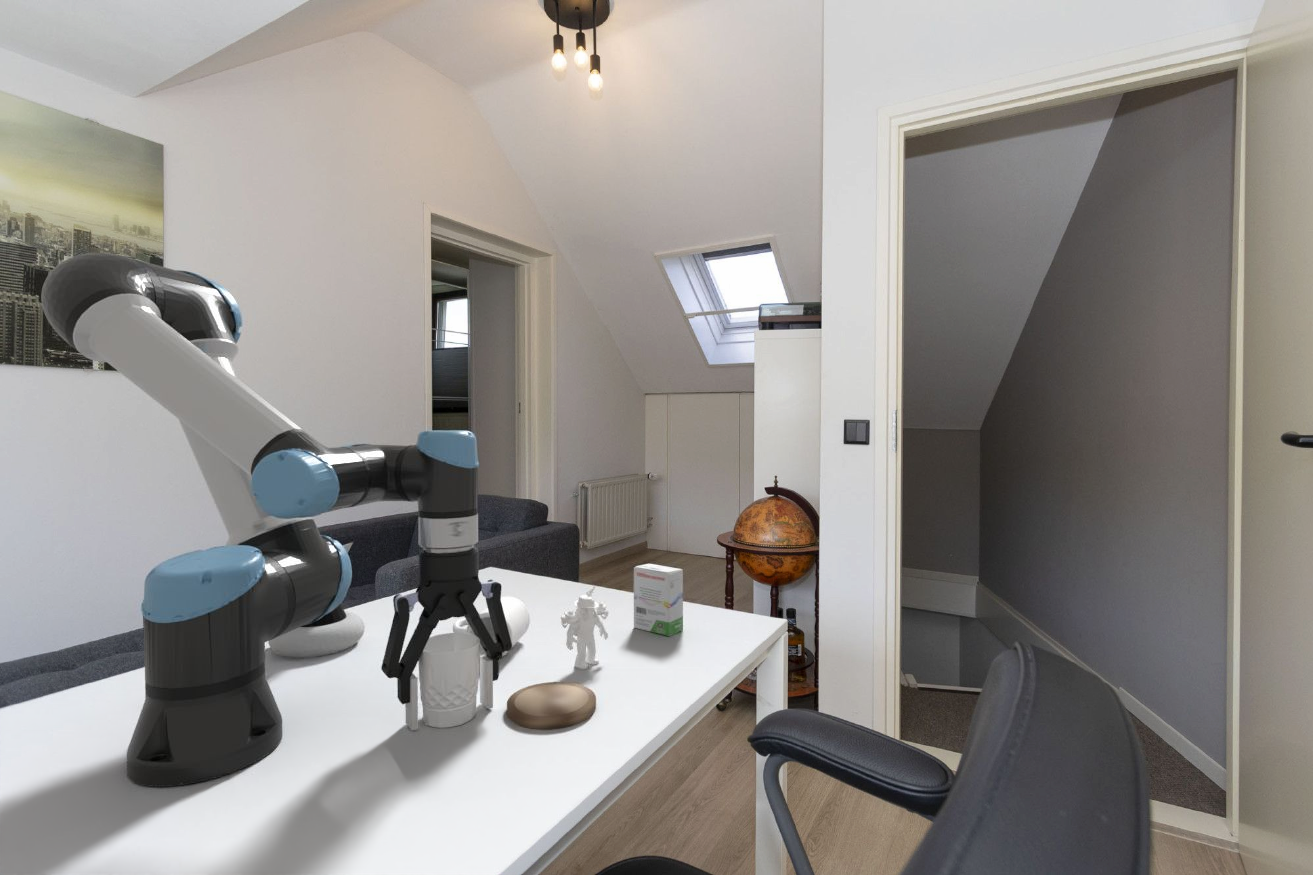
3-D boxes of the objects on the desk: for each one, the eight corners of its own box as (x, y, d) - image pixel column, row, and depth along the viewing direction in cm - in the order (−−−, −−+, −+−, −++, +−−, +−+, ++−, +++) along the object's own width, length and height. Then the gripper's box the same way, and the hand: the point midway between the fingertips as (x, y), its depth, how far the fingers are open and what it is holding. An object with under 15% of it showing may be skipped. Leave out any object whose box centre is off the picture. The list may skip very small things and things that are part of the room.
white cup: (491, 716, 86) (491, 641, 86) (436, 737, 80) (436, 657, 80) (460, 698, 92) (460, 628, 91) (407, 717, 86) (406, 642, 86)
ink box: (684, 630, 122) (684, 567, 121) (668, 637, 118) (669, 572, 117) (648, 621, 127) (648, 561, 126) (632, 628, 123) (632, 566, 122)
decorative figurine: (370, 629, 122) (369, 523, 121) (357, 657, 107) (356, 537, 107) (282, 636, 117) (280, 526, 117) (256, 666, 103) (254, 541, 103)
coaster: (531, 738, 80) (531, 728, 80) (492, 704, 90) (492, 695, 90) (612, 712, 87) (612, 703, 87) (568, 683, 97) (568, 674, 97)
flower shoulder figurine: (598, 653, 109) (598, 583, 109) (614, 659, 106) (614, 587, 106) (556, 668, 103) (556, 593, 102) (572, 675, 100) (572, 598, 100)
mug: (530, 641, 116) (530, 596, 115) (512, 661, 106) (512, 613, 105) (465, 638, 117) (465, 594, 117) (441, 658, 107) (441, 610, 107)
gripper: (367, 563, 76) (369, 752, 76) (537, 541, 89) (538, 702, 90) (352, 552, 82) (354, 728, 82) (514, 534, 95) (515, 685, 96)
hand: (450, 714), depth 86 cm, fingers open, 9 cm apart
